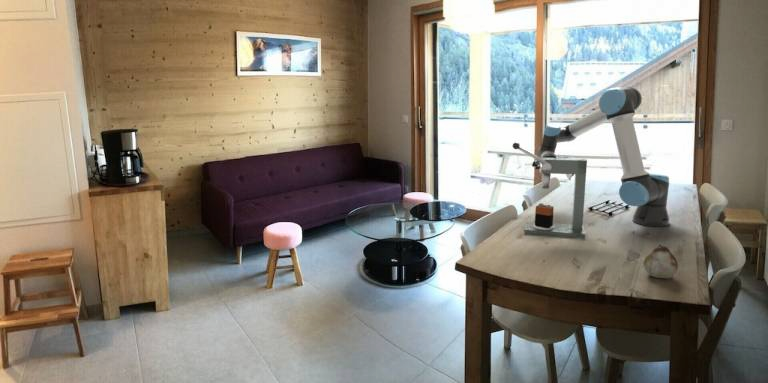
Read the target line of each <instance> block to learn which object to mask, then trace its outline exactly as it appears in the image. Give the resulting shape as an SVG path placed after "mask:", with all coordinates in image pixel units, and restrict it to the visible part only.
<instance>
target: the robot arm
mask: <svg viewBox="0 0 768 383" xmlns="http://www.w3.org/2000/svg"><path fill="white" fill-rule="evenodd" d="M642 99H643V98H642V94H641V93H640V91H639V90H638V89H636V88H634V87H630V86H628V87H618V86H617V87H612V88H608V89H606V90H605V91H603V93H601V95H600V98H599V99H598V100H599V101H598V107H599V108H598V109H596V110H594V111H592V112H590V113H589V114H587V115H584V116H583V117H581V118H579V119H577V120H575V121H573V122H571V123H569V124H567V125H566V126H564V127H561V126H559V125H556V124H547V125H545V129H544V131H543V136H542V140H541V143H540V146H539V148H538V151H537V153H538V155H537V156H538V157H540V158H558V157H557V156H556V154H555V152H556V149H557V145H558V143H565V142H566V143H567V142H572V141H574V140H576V139H577V137H580V136H582V135H583V134H585V133H587V132H589V131H591V130H593V129H595V128H597V127H599V126H601V125H603V124H605V123H607V122H609V123H611V125H612V129H613V130H612V131H613V134H614V138H615V142H616V146H617V147H616V149H617V152H618V155H619V160H620V165H621V170H622V173H623V174H622V176H621V178H620V181H621V185H620V187H619V190H618V196H619V197H620V199H621V201H622V202H623V203H625V204H626V205H628V206H630V207H636V209H635V211H634V213H633V215H632V222H633V223H636V224H639V225H643V226H648V227H649V226H650V227H665V226H668V225H669V224H670V216H669V214H668V209H667V203H668V194H669V187H670V177H669V176H667V175H664V174H660V173H659V174H657V173H650V172H648V171H646V170H645V167H644V163H643V158H642V154H641V150H640V145H639V141H638V137H637V132H636V128H635V124H634V118H633V117H634V116H635V115H636V110H638V109H639V108H640V106H641V104H642ZM531 167H533V168H534V167H535V168H534V169H535V170H538V172H539V173H540V174H542V163H541V162H539V161H538V160H536V159H534V161H532V164H531ZM565 175H566V177H567V179H568V181H571V179H572V177H575V174H565Z"/></svg>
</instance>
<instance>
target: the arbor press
mask: <svg viewBox="0 0 768 383" xmlns="http://www.w3.org/2000/svg"><path fill="white" fill-rule="evenodd" d="M512 148H513V149H514V150H518V151H521V152H522V153H524V154H525V155H527V156H529V157H530V158H532V159H534V160H538V161H539V162H541V163H542V173H541V186H540V187H541V189H547V190H548V189H550V188H551V174H553V175H555V174H556V175H557V174H559V175H566V174H574V185H573V186H574V187H573V199H572V200H573V201H572V216H571V217H572V218H571V223H555V222H553V226H551V227H549V228H546V227H541V226H536V225H535V221H525V224H524V229H523V230H524V231H523V233H524V235H529V234H530V235H531V236H543V237H544V236H545V237H546V236H547V237H559V238H570V239H586V232H585V226H584V224H583V223H584V213H585V212H584V211H585V209H584V208H585V196H586V195H585V194H586V180H587V167H588V166H587V164H588V159H587V158H579V157H578V158H577V157H576V158H575V157H574V158H572V157H571V158H570V157H557V158H540V157H539V156H538V155H537V154H534V153H533V152H531V151H530V150H528V149H527V148H525V147H523V146H521V145H520V143H519V142H517V141H515V142H514V143H512Z"/></svg>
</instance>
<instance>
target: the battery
mask: <svg viewBox="0 0 768 383" xmlns="http://www.w3.org/2000/svg"><path fill="white" fill-rule="evenodd" d="M534 216H535V218H534V222H535V225H536V226H541V227H546V228H549V227H551V226H553V223H554V206H552V205H551V204H544V203H542V202H541V203H538V205H536V206H535V214H534Z"/></svg>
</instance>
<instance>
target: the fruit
mask: <svg viewBox="0 0 768 383" xmlns="http://www.w3.org/2000/svg"><path fill="white" fill-rule="evenodd" d="M643 268H644V270H645V271H646V273H647V274H648V275H649V276H652V277H653V278H657V279H670V278H672V277H673V276H675V275H676V273H677V271H678V268H679V263H678V260H677V258H676V256H675V255H674V254H673V253H672V252H671V251H670V249H669V248H668V247H666V246H664V245H661V244H659V245H658V246H656V247H655V248H653V249H652V251H651V252H650V253H648V254H647V255H646V256H645V258H644V259H643Z"/></svg>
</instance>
